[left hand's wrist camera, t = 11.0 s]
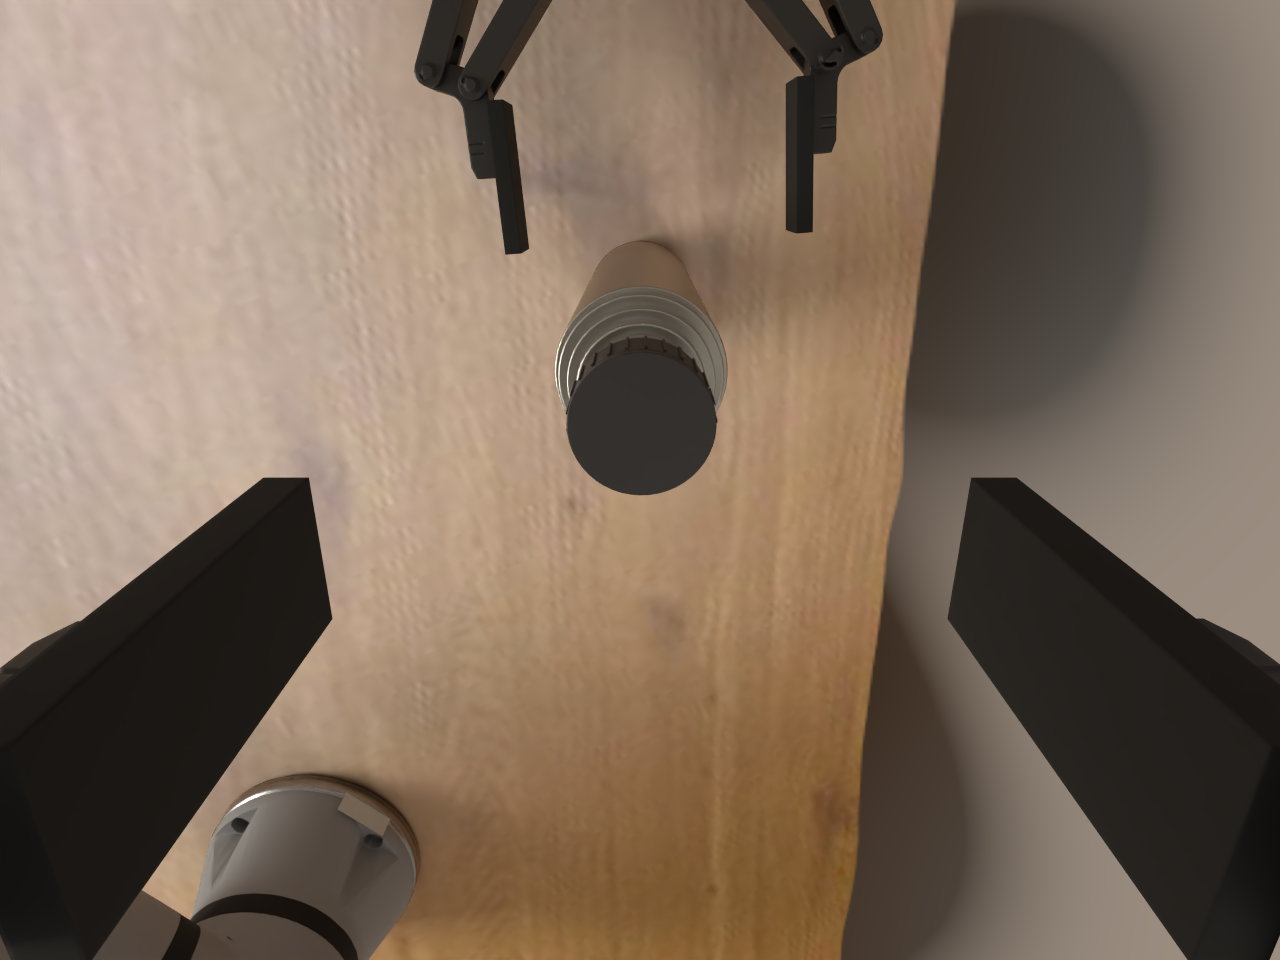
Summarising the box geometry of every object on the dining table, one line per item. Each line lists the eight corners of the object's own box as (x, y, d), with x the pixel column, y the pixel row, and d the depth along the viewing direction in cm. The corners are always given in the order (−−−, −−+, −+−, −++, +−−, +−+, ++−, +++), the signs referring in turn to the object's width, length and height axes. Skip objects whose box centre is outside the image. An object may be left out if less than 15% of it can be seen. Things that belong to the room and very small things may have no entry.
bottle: (642, 218, 42) (646, 264, 19) (711, 295, 44) (793, 425, 20) (569, 291, 44) (488, 417, 20) (638, 363, 45) (637, 558, 22)
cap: (644, 304, 21) (644, 316, 19) (741, 408, 22) (750, 429, 20) (541, 402, 22) (532, 423, 20) (638, 497, 23) (638, 525, 21)
